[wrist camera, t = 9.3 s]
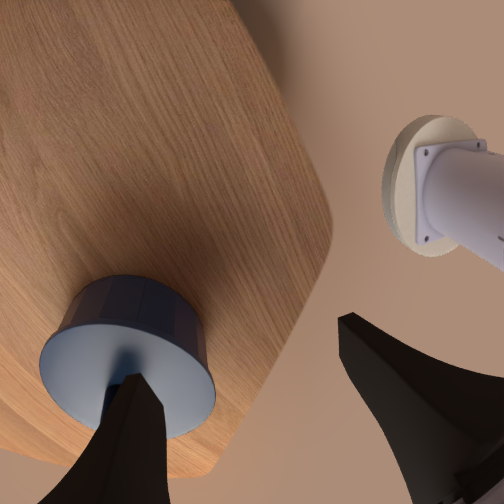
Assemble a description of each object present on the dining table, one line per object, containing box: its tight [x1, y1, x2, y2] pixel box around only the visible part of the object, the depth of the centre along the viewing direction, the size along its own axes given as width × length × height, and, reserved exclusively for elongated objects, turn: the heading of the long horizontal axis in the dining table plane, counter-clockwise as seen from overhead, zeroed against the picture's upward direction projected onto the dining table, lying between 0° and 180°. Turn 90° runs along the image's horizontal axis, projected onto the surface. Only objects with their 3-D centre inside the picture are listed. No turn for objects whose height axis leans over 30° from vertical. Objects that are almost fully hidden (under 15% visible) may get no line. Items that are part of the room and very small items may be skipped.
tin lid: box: [39, 318, 216, 439], centre depth 14 cm, size 11×11×5 cm
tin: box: [58, 275, 208, 368], centre depth 18 cm, size 11×11×5 cm
